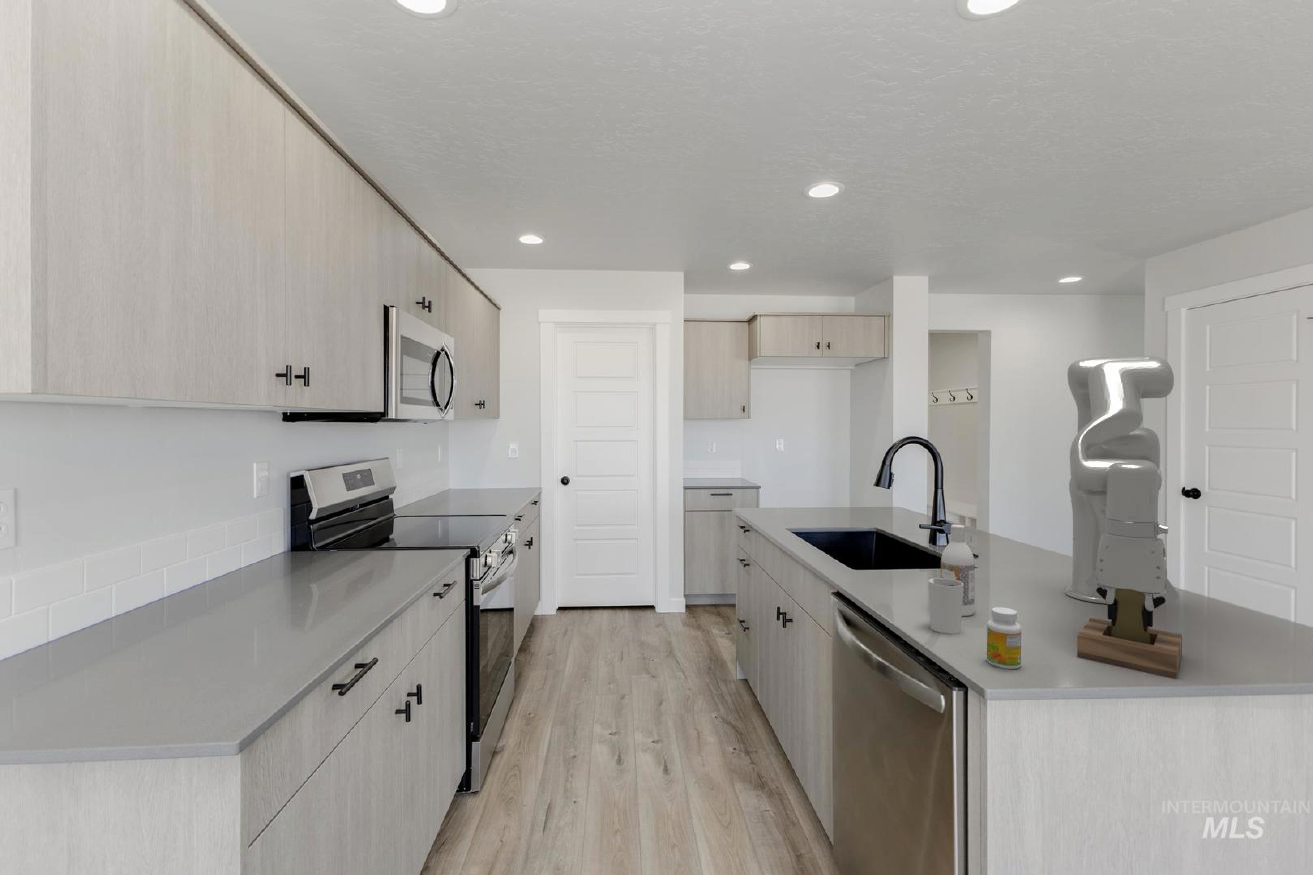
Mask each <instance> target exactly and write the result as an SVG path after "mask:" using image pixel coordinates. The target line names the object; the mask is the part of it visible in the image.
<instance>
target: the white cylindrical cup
mask: <svg viewBox="0 0 1313 875" xmlns="http://www.w3.org/2000/svg"><path fill="white" fill-rule="evenodd" d="M928 597H929V599H928V600H929V601H928V602H929V622H930V626H929V627H930V629H931V630H932V631H935V632H937V633H940V634H941V633H942V634H947V633H950V634H949V635H952V634H953V635H955V634H959V633H961V631H962V618H963V616H962V601H963V583H962V582H960V581H957V580H953V579H946V578H941V577H934V578H930V579H928Z"/></svg>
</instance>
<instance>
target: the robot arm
mask: <svg viewBox="0 0 1313 875" xmlns="http://www.w3.org/2000/svg"><path fill="white" fill-rule="evenodd" d="M1174 377H1175V376H1174V371H1173V368H1172V366H1171V365H1170V363H1169V362H1168V361H1167V360H1166V359H1164V358H1162V357H1159V356H1155V355H1135V356H1134V355H1132V356H1130V355H1129V356H1108V357H1092V358H1091V357H1090V358H1082V359H1079V360H1076V361H1074V362H1072V363H1070V365H1069V366H1068V368H1067V383H1068V388H1069V390H1070V393H1071V396H1072V397H1073V399H1074V402H1075V404H1076V409H1077V434H1076V435H1075V436H1074V438H1073V441H1072V443H1071V445H1070V449H1069V467H1070V469H1069V470H1070V471H1069V472H1070V479H1069V482H1068V485H1069V486H1068V487H1069V488H1068V490H1069V495H1070V503H1071V510H1072V577H1071V578H1072V580H1071V581H1072V582H1071V585H1069V586H1066V587H1065V589H1064V593H1065V594H1066V595H1067V596H1069V597H1071V598H1074V599H1077V600H1079V601H1080V600H1082V601H1084V602H1091V603H1096V604H1107V620H1108V621H1111V625H1112V626H1115V623H1116V615H1117V600H1116V599H1115V590H1116V589H1132V590H1135V591H1139V592H1142V593H1144V594H1145V597H1146V600H1145V605H1144V610H1142V619H1143V628H1144V631H1145V632H1147V626H1148V628H1153V626H1154V610H1155V609H1157V608H1159V607H1161V606H1162V605H1164V604H1165V603H1168V602H1173V601H1175V600H1178V599H1179V598H1180V594H1179V592H1178V590H1176V588H1175V587H1174V585H1173V584H1172V583H1171V581H1170V580H1169V578H1168V568H1167V554H1166V547H1165V544H1164V543H1165V542H1164V539H1163V538H1161V537H1158V536H1160V535H1162V534H1165V535H1166V534H1168V533H1169V526H1168V525H1167V526H1165V525H1162V524H1160V523H1159V520H1158V518H1159V494H1160V490H1161V487H1162V483H1163V478H1162V477H1163V476H1162V471H1161V469H1160V467H1161V466H1160V464H1161V445H1160V438H1159V436H1158V435H1157V433H1156V431H1155V430H1153V429H1151V428H1149V427H1144V426H1143V427H1141V425H1142V424H1143V420H1144V416H1143V410H1142V405H1141V399H1163V398H1167V397H1168V396H1169V395H1170V394H1171V393H1172V391H1173V388H1174V385H1175V378H1174ZM1165 592H1166V593H1165ZM1155 595H1158V596H1156V597H1155Z"/></svg>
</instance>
